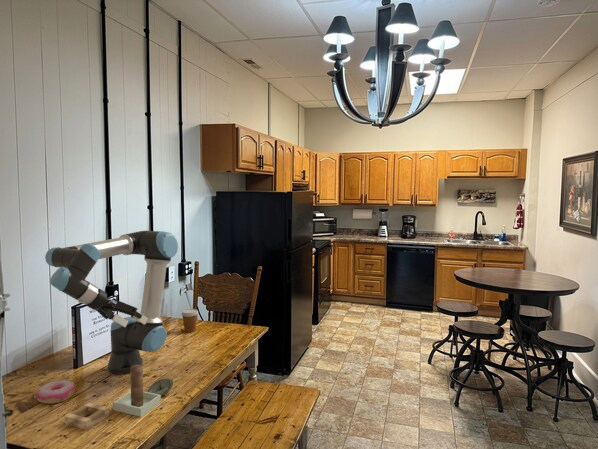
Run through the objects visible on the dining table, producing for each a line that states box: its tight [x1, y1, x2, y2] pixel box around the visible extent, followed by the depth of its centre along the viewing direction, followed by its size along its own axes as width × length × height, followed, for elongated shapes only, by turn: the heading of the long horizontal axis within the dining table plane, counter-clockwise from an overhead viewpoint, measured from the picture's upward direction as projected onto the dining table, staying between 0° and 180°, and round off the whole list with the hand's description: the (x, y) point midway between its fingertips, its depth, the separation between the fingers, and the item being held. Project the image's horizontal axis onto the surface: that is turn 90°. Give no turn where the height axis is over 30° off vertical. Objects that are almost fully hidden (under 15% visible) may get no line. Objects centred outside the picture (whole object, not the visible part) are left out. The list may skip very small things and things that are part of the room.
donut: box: [35, 379, 77, 405], centre depth 165 cm, size 14×13×5 cm
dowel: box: [129, 365, 144, 407], centre depth 158 cm, size 4×4×15 cm
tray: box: [112, 390, 162, 417], centre depth 159 cm, size 13×11×3 cm
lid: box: [147, 377, 174, 397], centre depth 170 cm, size 11×10×5 cm
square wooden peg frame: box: [64, 402, 110, 431], centre depth 149 cm, size 10×10×3 cm
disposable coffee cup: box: [181, 308, 199, 334], centre depth 244 cm, size 10×10×12 cm
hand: (136, 322), depth 168 cm, fingers open, 13 cm apart
